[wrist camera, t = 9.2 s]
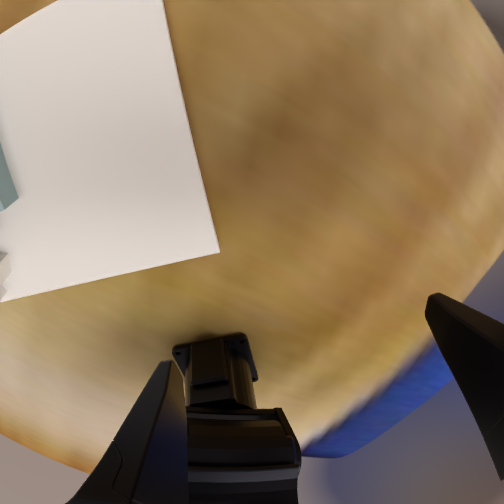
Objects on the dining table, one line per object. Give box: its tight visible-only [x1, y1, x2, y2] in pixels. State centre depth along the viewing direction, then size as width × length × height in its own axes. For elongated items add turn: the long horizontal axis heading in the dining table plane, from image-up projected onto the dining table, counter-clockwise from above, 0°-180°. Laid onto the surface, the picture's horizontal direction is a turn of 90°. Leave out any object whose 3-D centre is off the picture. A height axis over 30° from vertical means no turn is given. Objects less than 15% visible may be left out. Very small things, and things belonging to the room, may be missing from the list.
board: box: [0, 0, 220, 302], centre depth 16 cm, size 19×24×1 cm
